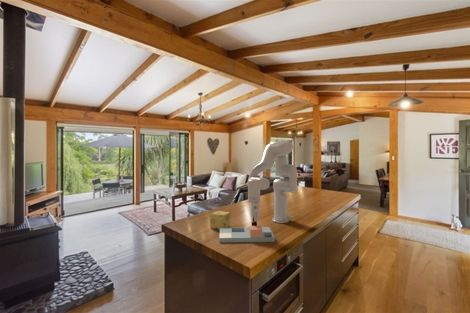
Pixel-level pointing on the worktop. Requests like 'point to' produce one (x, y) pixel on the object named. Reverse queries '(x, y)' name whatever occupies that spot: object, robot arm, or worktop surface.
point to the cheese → (220, 220)
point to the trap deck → (244, 235)
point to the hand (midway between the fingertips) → (254, 228)
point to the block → (255, 231)
